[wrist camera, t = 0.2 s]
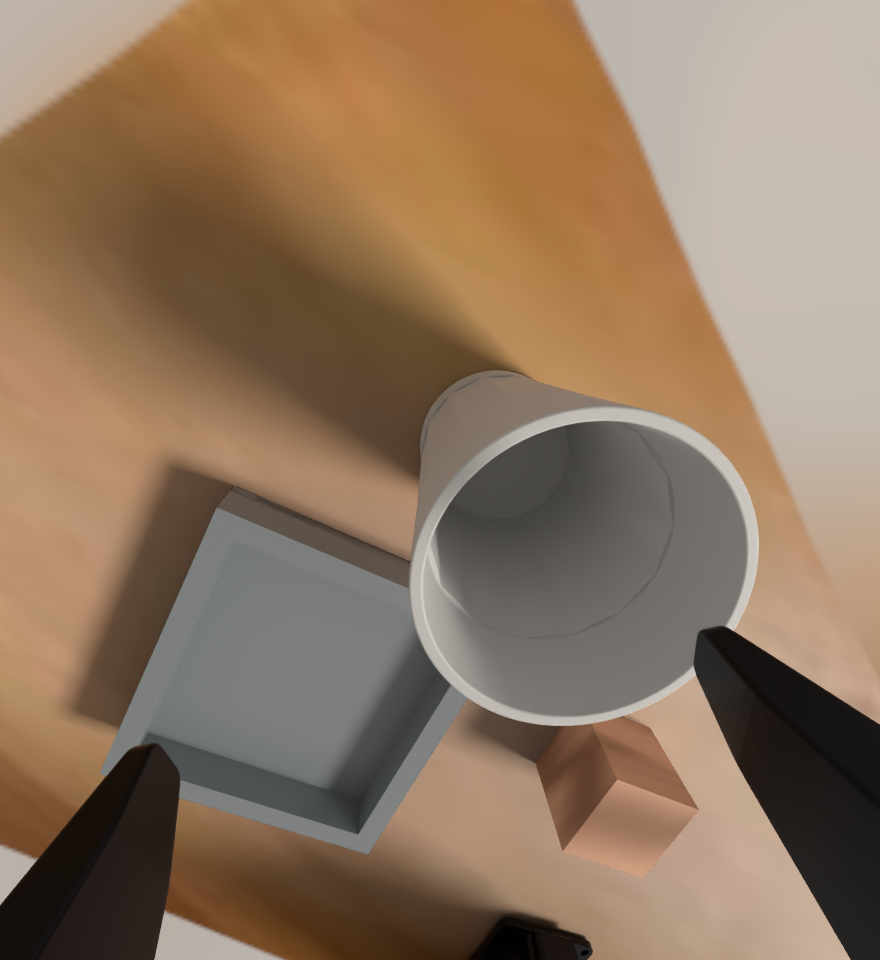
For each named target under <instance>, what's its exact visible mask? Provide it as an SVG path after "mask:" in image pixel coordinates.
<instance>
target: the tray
mask: <svg viewBox="0 0 880 960" xmlns="http://www.w3.org/2000/svg"><path fill="white" fill-rule="evenodd" d="M409 569H410V562H408V561H406V560H404V559H401V558H399V557H397V556H395V555H392V554H390V553H388V552H385V551H383V550H381V549H378V548H376V547H374V546H372V545H369V544H367V543H365V542H362V541H360V540H358V539H355V538H353V537H351V536H349V535H346V534H344V533H342V532H339V531H337V530H335V529H332V528H330V527H328V526H326V525H323V524H321V523H319V522H316V521H314V520H312V519H309V518H307V517H305V516H303V515H300V514H298V513H296V512H293V511H291V510H289V509H286V508H284V507H282V506H280V505H277V504H275V503H273V502H270V501H268V500H266V499H264V498H261V497H259V496H257V495H254V494H252V493H250V492H247V491H245V490H243V489H241V488H238V487H236V486H234V487H233V488H232V489H231V490H230V492H229V493H228V494H227V495H226V497H225V498H224V499H223V500H222V501H221V503H220V504H219V505H218V506H217V508H216V510H215V512H214V515H213V517H212V519H211V521H210V524H209V526H208V528H207V530H206V533H205V535H204V537H203V540H202V542H201V544H200V546H199V549H198V551H197V553H196V555H195V558H194V560H193V562H192V565H191V567H190V569H189V571H188V574H187V576H186V578H185V581H184V583H183V585H182V587H181V590H180V592H179V594H178V596H177V599H176V601H175V603H174V606H173V608H172V610H171V612H170V615H169V617H168V619H167V621H166V624H165V626H164V628H163V631H162V633H161V635H160V637H159V640H158V642H157V644H156V647H155V649H154V651H153V653H152V656H151V658H150V660H149V662H148V665H147V667H146V669H145V672H144V674H143V676H142V678H141V681H140V683H139V685H138V687H137V690H136V692H135V694H134V697H133V699H132V701H131V703H130V706H129V708H128V710H127V713H126V715H125V717H124V719H123V722H122V724H121V726H120V728H119V731H118V733H117V735H116V738H115V740H114V742H113V744H112V747H111V749H110V751H109V753H108V756H107V758H106V760H105V763H104V765H103V767H102V769H101V772H100V774H101V775H105V776H107V775H108V773H109V772H110V771H111V770H112V768H113V767H114V766H115V765H116V764H117V762H118V761H119V760H120V759H121V758H122V756H123V755H124V754H125V753H126V752H127V751H128V750H129V749H130V748H132V747H135V746H138V745H143V744H148V743H153V742H156V743H158V744H160V745H161V746H162V747H163V749H164V750H165V751H166V753H167V754H168V755H169V757H170V758H171V760H172V761H173V762H174V764H175V765H176V766H177V768H178V770H179V773H180V792H179V798H181V799H185V800H188V801H191V802H195V803H198V804H201V805H205V806H208V807H211V808H215V809H218V810H221V811H225V812H228V813H231V814H235V815H238V816H241V817H245V818H248V819H251V820H255V821H258V822H261V823H265V824H268V825H271V826H275V827H278V828H281V829H285V830H288V831H291V832H295V833H298V834H301V835H305V836H308V837H311V838H315V839H318V840H321V841H325V842H328V843H331V844H335V845H338V846H341V847H345V848H348V849H351V850H355V851H358V852H361V853H365V854H369V852H370V851H371V849H372V847H373V846H374V844H375V843H376V841H377V840H378V838H379V836H380V835H381V833H382V832H383V830H384V829H385V827H386V825H387V824H388V822H389V821H390V819H391V818H392V816H393V814H394V813H395V811H396V810H397V808H398V807H399V805H400V803H401V802H402V800H403V799H404V797H405V796H406V794H407V792H408V791H409V789H410V788H411V786H412V785H413V783H414V781H415V780H416V778H417V777H418V775H419V773H420V772H421V770H422V769H423V767H424V766H425V764H426V762H427V761H428V759H429V758H430V756H431V755H432V753H433V751H434V750H435V748H436V747H437V745H438V744H439V742H440V740H441V739H442V737H443V736H444V734H445V733H446V731H447V729H448V728H449V726H450V725H451V723H452V722H453V720H454V718H455V717H456V715H457V714H458V712H459V711H460V709H461V707H462V706H463V704H464V703H465V701H466V700H467V697H465V696H464V695H463V694H461V693H460V692H459V691H458V690H456V689H455V688H454V687H453V686H452V685H451V684H450V683H449V682H448V681H447V680H446V679H445V678H444V677H443V676H442V675H441V674H440V672H439V671H438V670H437V669H436V667H435V666H434V665H433V663H432V662H431V660H430V659H429V657H428V656H427V654H426V652H425V650H424V648H423V646H422V644H421V642H420V640H419V637H418V635H417V632H416V629H415V626H414V623H413V619H412V615H411V609H410V602H409Z"/></svg>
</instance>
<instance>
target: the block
mask: <svg viewBox="0 0 880 960" xmlns="http://www.w3.org/2000/svg"><path fill="white" fill-rule="evenodd" d="M536 766H537V769H538V772H539V775H540V779H541V782H542V785H543V789H544V792H545V795H546V798H547V802H548V805H549V808H550V811H551V815H552V818H553V821H554V824H555V828H556V831H557V834H558V837H559V841H560V844H561V847H562V850H563V851H564V852H567V853H570V854H573V855H576V856H579V857H582V858H585V859H588V860H591V861H594V862H597V863H600V864H603V865H606V866H609V867H612V868H615V869H618V870H621V871H624V872H627V873H630V874H633V875H637V876H640V877H644V876H645V874H646V873H647V872H648V871H649V870H650V868H651V867H652V866H653V865H654V863H655V862H656V861H657V860H658V859H659V857H660V856H661V855H662V854H663V853H664V851H665V850H666V849H667V848H668V847H669V845H670V844H671V843H672V842H673V841H674V839H675V838H676V837H677V836H678V834H679V833H680V832H681V831H682V830H683V828H684V827H685V826H686V825H687V824H688V822H689V821H690V820H691V819H692V818H693V816H694V815H695V814H696V813H697V811H698V810H699V809H698V808H697V806H696V804H695V803H694V801H693V799H692V798H691V796H690V794H689V793H688V791H687V789H686V787H685V786H684V784H683V782H682V781H681V779H680V777H679V776H678V774H677V772H676V771H675V769H674V767H673V766H672V764H671V762H670V761H669V759H668V757H667V756H666V754H665V752H664V751H663V749H662V747H661V745H660V744H659V742H658V740H657V739H656V737H655V735H654V734H653V732H652V730H651V729H650V728H649V727H646V726H644V725H641V724H639V723H636V722H634V721H631V720H629V719H627V718H624V717H622V716H621V717H618V718H614V719H611V720H607V721H602V722H597V723H591V724H584V725H573V726H562V727H561V728H560V729H559V731H558V732H557V734H556V735H555V737H554V738H553V739H552V741H551V742H550V744H549V745H548V747H547V748H546V749H545V751H544V752H543V754H542V755H541V756H540V758H539V759H538V761H537V762H536Z"/></svg>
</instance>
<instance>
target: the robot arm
mask: <svg viewBox="0 0 880 960" xmlns="http://www.w3.org/2000/svg"><path fill="white" fill-rule="evenodd" d="M693 664H694V670H695V673H696V676H697V678H698V680H699V683H700V685H701V687H702V689H703V691H704V693H705V696H706V698H707V700H708V702H709V704H710V707H711V709H712V711H713V713H714V715H715V718H716V720H717V722H718V724H719V726H720V729H721V731H722V733H723V735H724V737H725V740H726V742H727V744H728V746H729V748H730V750H731V753H732V755H733V757H734V759H735V761H736V763H737V765H738V767H739V768H740V770H741V772H742V774H743V776H744V778H745V779H746V781H747V783H748V785H749V786H750V788H751V790H752V791H753V793H754V795H755V796H756V798H757V800H758V802H759V803H760V805H761V807H762V808H763V810H764V812H765V814H766V815H767V817H768V819H769V820H770V822H771V824H772V826H773V827H774V829H775V831H776V832H777V834H778V836H779V838H780V839H781V841H782V843H783V844H784V846H785V848H786V850H787V851H788V853H789V855H790V856H791V858H792V860H793V862H794V863H795V865H796V867H797V868H798V870H799V872H800V874H801V875H802V877H803V879H804V880H805V882H806V884H807V885H808V887H809V889H810V891H811V892H812V894H813V896H814V897H815V899H816V901H817V903H818V904H819V906H820V908H821V909H822V911H823V913H824V915H825V916H826V918H827V920H828V921H829V923H830V925H831V927H832V928H833V930H834V932H835V933H836V935H837V937H838V939H839V940H840V942H841V944H842V945H843V947H844V949H845V951H846V952H847V954H848V956H849V957H850V959H851V960H880V724H878V723H876V722H875V721H873V720H872V719H870V718H869V717H867V716H866V715H864V714H862V713H861V712H859V711H858V710H856V709H855V708H853V707H851V706H850V705H848V704H847V703H845V702H844V701H842V700H841V699H839V698H837V697H836V696H834V695H833V694H831V693H830V692H828V691H826V690H825V689H823V688H822V687H820V686H819V685H817V684H816V683H814V682H812V681H811V680H809V679H808V678H806V677H805V676H803V675H801V674H800V673H798V672H797V671H795V670H794V669H792V668H791V667H789V666H787V665H786V664H784V663H783V662H781V661H780V660H778V659H776V658H775V657H773V656H772V655H770V654H769V653H767V652H766V651H764V650H762V649H761V648H759V647H758V646H756V645H755V644H753V643H752V642H750V641H748V640H747V639H745V638H744V637H742V636H741V635H739V634H737V633H736V632H734V631H733V630H731V629H730V628H728V627H725V626H715V627H710V628H705V629H702V630H700V631H699V632H698V634H697V640H696V646H695V653H694V661H693ZM179 792H180V773H179V770H178V768H177V766H176V765H175V764H174V762H173V761H172V760H171V758H170V757H169V755H168V754H167V753H166V751H165V750H164V749H163V747H162V746H161V745H160V744H158V743H156V742H153V743H148V744H143V745H138V746H135V747H132V748H130V749H129V750H128V751H127V752H126V753H125V754H124V755H123V756H122V758H121V759H120V760H119V761H118V762H117V764H116V765H115V766H114V767H113V768H112V770H111V771H110V772H109V773H108V775H107V776H106V777H105V778H104V779H103V781H102V782H101V783H100V784H99V786H98V787H97V788H96V789H95V790H94V792H93V793H92V794H91V795H90V796H89V798H88V799H87V800H86V801H85V803H84V804H83V805H82V806H81V807H80V809H79V810H78V811H77V812H76V814H75V815H74V816H73V817H72V818H71V820H70V821H69V822H68V823H67V825H66V826H65V827H64V828H63V829H62V831H61V832H60V833H59V834H58V835H57V837H56V838H55V839H54V840H53V842H52V843H51V844H50V845H49V846H48V848H47V849H46V850H45V851H44V853H43V854H42V855H41V856H40V857H39V859H38V860H37V861H36V862H35V863H34V865H33V866H32V867H31V868H30V870H29V871H28V872H27V873H26V875H25V876H24V877H23V878H22V879H21V881H20V882H19V883H18V884H17V886H16V887H15V888H14V889H13V890H12V892H11V893H10V894H9V895H8V896H7V898H6V899H5V900H4V901H3V902H2V904H1V905H0V960H154V958H155V953H156V949H157V944H158V939H159V934H160V929H161V924H162V919H163V915H164V910H165V905H166V900H167V894H168V889H169V882H170V875H171V867H172V858H173V848H174V839H175V829H176V820H177V811H178V801H179ZM592 953H593V950H592V947H591V944H590V942H589V941H587V940H584V939H580V938H577V937H574V936H570V935H567V934H563V933H560V932H556V931H553V930H549V929H546V928H543V927H539V926H536V925H532V924H529V923H525V922H522V921H518V920H515V919H512V918H504V919H502V920H501V921H499V923H498V924H497V925H496V927H495V928H494V929H493V931H492V932H491V933H490V935H489V936H488V937H487V939H486V940H485V941H484V943H483V944H482V945H481V947H480V948H479V949H478V951H477V952H476V953H475V955H474V956H473V957H472V959H471V960H587V959H588V958H589V957H590V956H591V955H592Z"/></svg>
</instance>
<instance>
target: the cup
mask: <svg viewBox="0 0 880 960" xmlns="http://www.w3.org/2000/svg"><path fill="white" fill-rule="evenodd" d="M420 454H421V469H420V481H419V494H418V506H417V512H416V520H415V528H414V536H413V545H412V553H411V561H410V569H409V602H410V609H411V615H412V619H413V623H414V626H415V629H416V632H417V635H418V637H419V640H420V642H421V644H422V646H423V648H424V650H425V652H426V654H427V656H428V657H429V659H430V660H431V662H432V663H433V665H434V666H435V667H436V669H437V670H438V671H439V672H440V674H441V675H442V676H443V677H444V678H445V679H446V680H447V681H448V682H449V683H450V684H451V685H452V686H453V687H454V688H455V689H456V690H458V691H459V692H460V693H461V694H463V695H464V696H465V697H467V698H468V699H470V700H471V701H473V702H475V703H476V704H478V705H480V706H481V707H483V708H485V709H487V710H489V711H492V712H494V713H496V714H499V715H502V716H504V717H507V718H511V719H514V720H518V721H522V722H527V723H532V724H539V725H550V726H573V725H584V724H591V723H597V722H602V721H607V720H611V719H614V718H618V717H621V716H624V715H627V714H630V713H633V712H635V711H638V710H640V709H642V708H645V707H647V706H649V705H651V704H653V703H655V702H657V701H659V700H660V699H662V698H664V697H666V696H667V695H669V694H671V693H672V692H674V691H675V690H677V689H678V688H679V687H681V686H682V685H684V684H685V683H686V682H688V681H689V680H690V679H691V678H693V677H694V676H695V675H696V673H695V670H694V664H693V661H694V653H695V646H696V640H697V634H698V632H699V631H700V630H702V629H705V628H710V627H715V626H725V627H728V628H730V629H731V630H734V629H735V627H736V625H737V624H738V622H739V620H740V618H741V616H742V614H743V612H744V610H745V608H746V605H747V603H748V600H749V597H750V595H751V592H752V588H753V585H754V581H755V576H756V571H757V564H758V553H759V538H758V527H757V520H756V516H755V511H754V508H753V504H752V501H751V498H750V496H749V493H748V491H747V489H746V486H745V484H744V483H743V481H742V479H741V477H740V475H739V474H738V472H737V470H736V469H735V468H734V466H733V465H732V464H731V462H730V461H729V460H728V459H727V457H726V456H725V455H724V454H723V453H722V452H721V451H720V450H719V449H718V448H717V447H716V446H715V445H714V444H713V443H712V442H710V441H709V440H708V439H707V438H705V437H704V436H703V435H701V434H700V433H699V432H697V431H695V430H694V429H692V428H691V427H689V426H687V425H685V424H683V423H681V422H679V421H677V420H675V419H673V418H670V417H668V416H665V415H662V414H659V413H656V412H652V411H648V410H644V409H640V408H636V407H632V406H628V405H624V404H620V403H615V402H611V401H607V400H603V399H599V398H595V397H591V396H586V395H583V394H579V393H576V392H572V391H569V390H565V389H562V388H558V387H555V386H551V385H548V384H544V383H541V382H537V381H534V380H532V379H530V378H528V377H526V376H524V375H521V374H518V373H515V372H510V371H502V370H492V371H484V372H479V373H475V374H472V375H469V376H467V377H465V378H463V379H461V380H459V381H457V382H456V383H454V384H453V385H451V386H450V387H449V388H447V389H446V390H445V391H444V392H443V393H442V394H441V395H440V396H439V397H438V398H437V400H436V401H435V402H434V404H433V405H432V407H431V408H430V410H429V412H428V414H427V416H426V418H425V421H424V424H423V427H422V431H421V437H420Z"/></svg>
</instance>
